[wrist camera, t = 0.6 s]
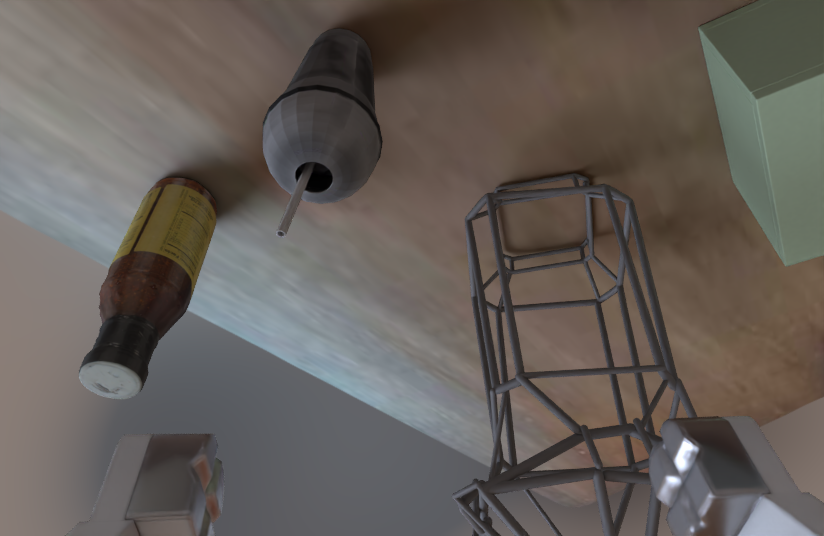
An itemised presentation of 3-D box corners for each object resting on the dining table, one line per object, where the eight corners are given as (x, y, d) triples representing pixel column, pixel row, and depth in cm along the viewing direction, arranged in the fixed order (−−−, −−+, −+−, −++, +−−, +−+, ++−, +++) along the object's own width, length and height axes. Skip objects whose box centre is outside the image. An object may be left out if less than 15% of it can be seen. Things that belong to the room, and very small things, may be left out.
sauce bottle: (166, 232, 59) (80, 415, 44) (136, 176, 55) (30, 357, 40) (234, 225, 58) (170, 408, 43) (209, 167, 54) (129, 348, 39)
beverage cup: (403, 89, 49) (393, 265, 34) (315, 114, 50) (268, 292, 36) (371, -5, 44) (343, 152, 29) (275, 26, 46) (202, 189, 31)
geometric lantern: (622, 272, 61) (765, 702, 35) (458, 288, 63) (480, 708, 37) (636, 128, 51) (854, 588, 25) (439, 151, 53) (452, 604, 27)
